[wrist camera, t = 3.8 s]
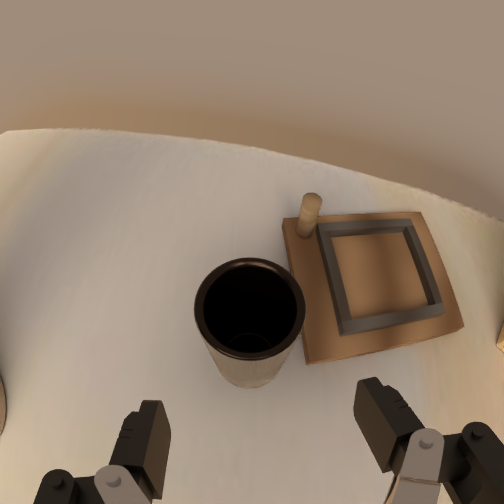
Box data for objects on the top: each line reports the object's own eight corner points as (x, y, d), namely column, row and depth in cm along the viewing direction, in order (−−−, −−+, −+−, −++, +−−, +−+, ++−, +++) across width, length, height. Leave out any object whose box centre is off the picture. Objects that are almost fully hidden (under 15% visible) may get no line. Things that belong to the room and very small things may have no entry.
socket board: (306, 364, 21) (323, 347, 16) (282, 226, 27) (288, 185, 22) (456, 331, 22) (492, 308, 17) (415, 219, 28) (437, 184, 23)
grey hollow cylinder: (226, 321, 22) (211, 246, 13) (286, 335, 22) (314, 267, 13) (209, 380, 20) (178, 344, 11) (273, 395, 19) (295, 372, 11)
